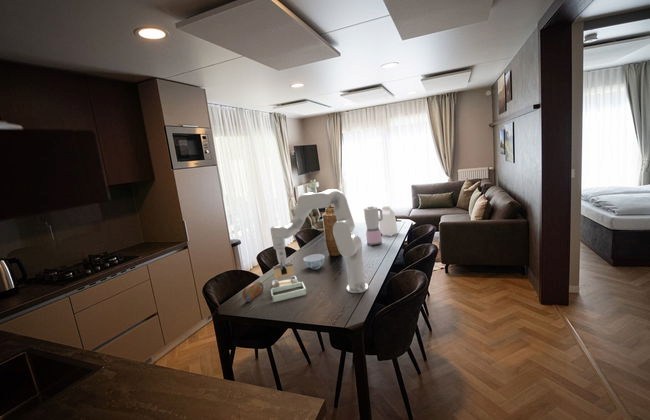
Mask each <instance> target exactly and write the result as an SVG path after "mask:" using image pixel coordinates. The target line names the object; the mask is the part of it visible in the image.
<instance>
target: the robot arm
mask: <svg viewBox="0 0 650 420" xmlns="http://www.w3.org/2000/svg"><path fill="white" fill-rule="evenodd" d="M331 205H333V213H334V215H335V218H336V219H335V220H336V221H335V222H334V224H333V227H332V235H333V238H334V240H335V244H336V247H337V249H338V252H339V253H340V255H341V256H343V257H344V258H345V266H346V273H347V282H348V284H347V286H346V291H347V292H348V293H350V294H351V293H352V294H361V293H364V292H366V291H368V290H369V285H368V283H366V280H365V277H366V276H365V269H364V268H365V267H364V259H363V242H362V240H361V237H360V236H358V235H357V234H354V233H353V234H352V232H353V231H354V230H355V222H354V218H353V215H352V213H351V210H350V207H349V203H348V200H347V198H346V196H345V195H344V193H343V192H342V191H340V190H339V189H335V188H330V189H329V188H328V189H325V190H324V191H320V192H311V191H309V192H305V193H302V194H301V195H299V196H298V198H297V205H296V207H295V208H294V209H293V215H294V216H293V219H292V220H291V221H290V222H289V223H288V224H286V225H283V226H282V225H273V226H271V227H270V228H269V229H270V235H271V240H272V247H273V249H274V250H275V253H276V257H277V258H276V259H277V261H278V263H279V264H278V265H281V272H282V275H284V274H287V270H286V266H285V264H287V263H288V260H287V254H286V249H285V248H286V242H285V241H286V240H285V239H289V238H291V237H292V236H294V235H296V234H297V233H298V232H299V231H300V229H301V228H302V227H303V226H304V224H305V222H306V218H307V217H308V216H309V214H310V213H311V212H312V210H316V209H317V210H318V209H323V208H324V209H325V208H327V207H330V206H331Z"/></svg>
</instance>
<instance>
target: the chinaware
mask: <svg viewBox="0 0 650 420" xmlns="http://www.w3.org/2000/svg"><path fill="white" fill-rule="evenodd" d="M303 262H304V264H305V265H306V267H308V268H310V269H312V270H313V271H314V270H319V269H320V268H321V267H322V265H324V262H325V255H324V254H321V253H317V254H316V253H315V254H314V253H313V254H310V255H307V256H305V257H303Z"/></svg>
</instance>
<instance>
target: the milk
mask: <svg viewBox="0 0 650 420" xmlns="http://www.w3.org/2000/svg"><path fill="white" fill-rule="evenodd" d="M381 210H382V217H383V219H382V220H381V221H379V230H380V232H381V233H382V236H385V235H387V236H389V237H392V235H393V236H394V235H396V234H398V227H397V218H396V213H395V212H394V211H393V210H392V209H391V207H390V205H383V206H382V209H381ZM378 215H379V219H380V218H381V217H380V214H378Z"/></svg>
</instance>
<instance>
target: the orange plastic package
mask: <svg viewBox="0 0 650 420" xmlns="http://www.w3.org/2000/svg"><path fill="white" fill-rule="evenodd" d="M263 292H264V284H263V282H260V281H254V282H253V283H251V284H250V285H248V286H246V287H245V288H244V289H243V290H242V295H241V296H242V299H243V300H244V301H245V302H249V303H251V302H252V301H253V299H254V298H255V297H257V296H258V295H261V294H263Z"/></svg>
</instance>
